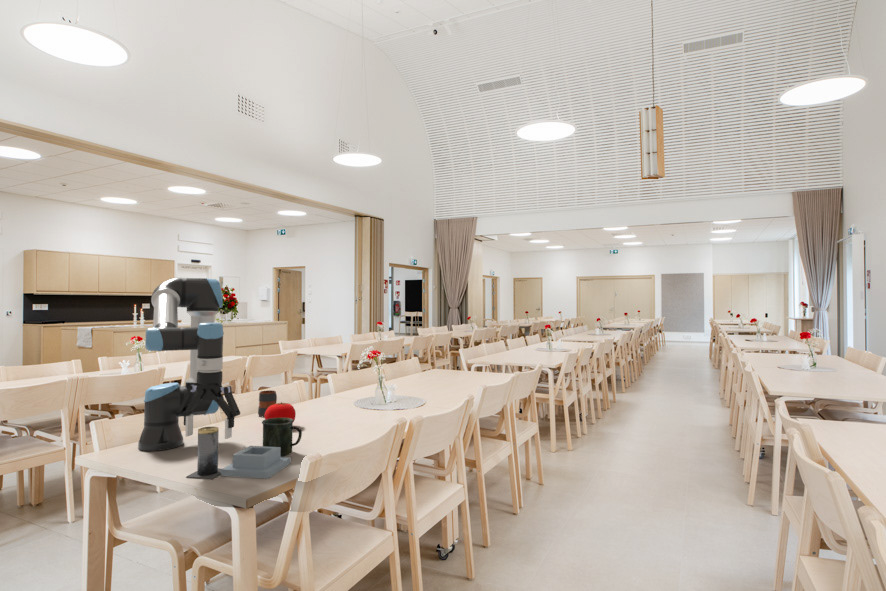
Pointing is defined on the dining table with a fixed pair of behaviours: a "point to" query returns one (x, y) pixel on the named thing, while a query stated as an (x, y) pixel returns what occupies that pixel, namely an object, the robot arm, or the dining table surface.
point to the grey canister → (207, 451)
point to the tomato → (280, 411)
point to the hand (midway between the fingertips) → (208, 436)
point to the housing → (256, 462)
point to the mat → (195, 475)
